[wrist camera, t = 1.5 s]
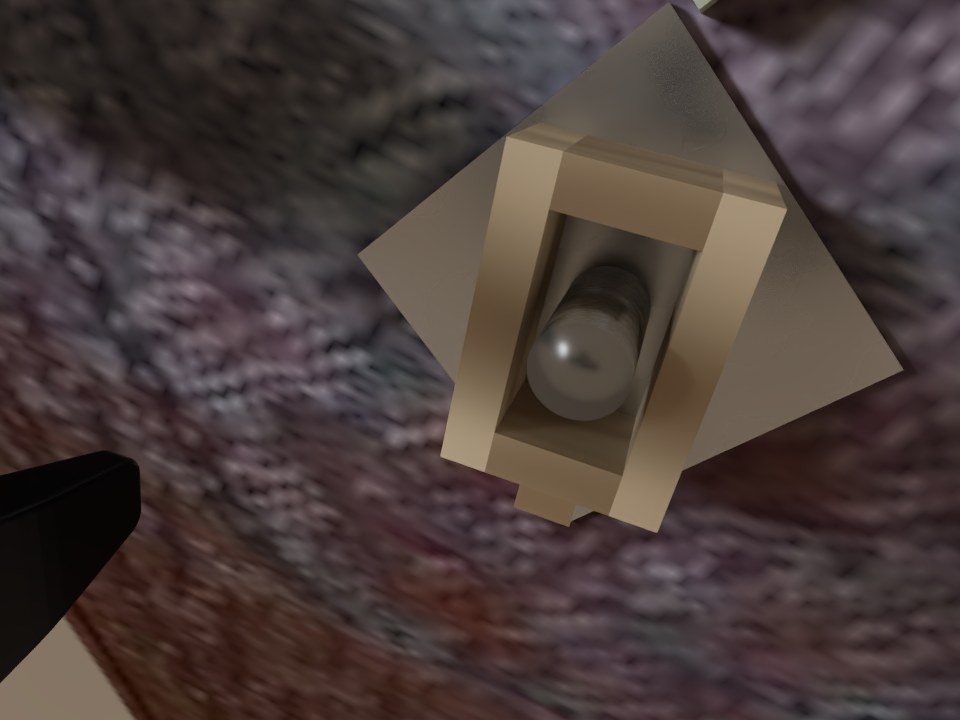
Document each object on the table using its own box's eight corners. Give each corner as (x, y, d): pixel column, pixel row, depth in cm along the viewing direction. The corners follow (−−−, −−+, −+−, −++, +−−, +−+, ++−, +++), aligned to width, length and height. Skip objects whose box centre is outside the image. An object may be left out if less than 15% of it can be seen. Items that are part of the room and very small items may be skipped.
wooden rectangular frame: (539, 122, 17) (506, 136, 14) (776, 182, 16) (786, 209, 13) (464, 454, 21) (429, 511, 19) (645, 517, 20) (635, 587, 18)
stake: (565, 517, 22) (530, 624, 18) (363, 251, 20) (274, 302, 16) (899, 363, 17) (955, 461, 13) (670, 2, 16) (652, -13, 12)
